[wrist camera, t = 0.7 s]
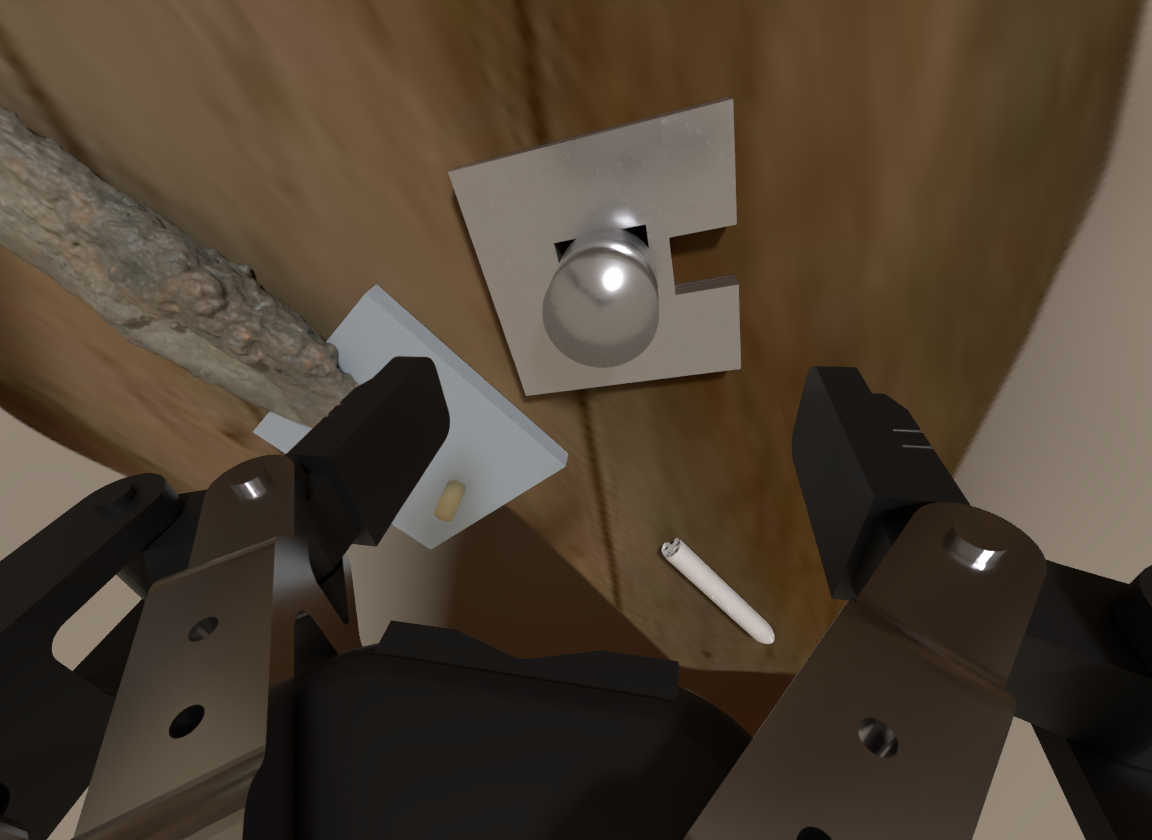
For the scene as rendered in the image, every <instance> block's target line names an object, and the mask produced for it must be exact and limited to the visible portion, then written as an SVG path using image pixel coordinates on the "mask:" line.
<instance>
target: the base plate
mask: <svg viewBox="0 0 1152 840" xmlns="http://www.w3.org/2000/svg"><path fill="white" fill-rule="evenodd" d="M326 343H332V344H334V345H335V346H336V349H337V350H338V355H337V365H339V369H340V370H342V371H344V372H346V373H349V374H351V375H352V377H353V379H354V381H356V382H357V383H358V385H361V384H363V383H365V382H366V381H368V380H370V379H372V378H373V377H374V376H375V375H376V374H377V373H378V372H379V371H380V370H381V369H382V368H383V367H384V366H385V365H386V364H387V363H388V362H389V361H390V360H391V359H393V358H394V357H396V356H411V357H429V358H431V359H432V360H433V362H434V364H435V366H436V369H437V372H438V376H439V379H440V383H441V386H442V390H443V393H444V397H445V400H446V404H447V407H448V410H449V415H450V429H449V433H448V436H447V438H446V440H445V442H444V443H443V445H442V446H441V448H440V449H439V451H438V452H437V454H436V455H435V457H434V459H433V460H432V462H431V463H430V465H429V466H428V468H427V469H426V471H425V472H424V474H423V476H422V477H421V479H420V480H419V482H418V483H417V485H416V486H415V488H414V489H413V491H412V493H411V494H410V496H409V497H408V499H407V500H406V502H405V503H404V505H403V506H402V508H401V509H400V511H399V513H398V514H397V516H396V517H395V519H394V520H393V522H392V523H391V524H393V525H394V526H395V527H397V528H398V529H400V530H402V531H403V532H405V533H406V534H408V535H409V536H411V537H412V538H414V539H415V540H417V541H418V542H420V543H421V544H423V545H424V546H426V547H427V548H429V549H430V550H431V549H433V548H434V547H436V546H438V545H439V544H441V543H442V542H444V541H445V540H447V539H449V538H451V537H452V536H453V535H455V534H457V533H459V532H460V531H462V530H463V529H465V528H467V527H468V526H470V525H472V524H473V523H475V522H477V521H478V520H480V519H481V518H483V517H485V516H486V515H488V514H489V513H491V512H493V511H494V510H496V509H498V508H499V507H501V506H502V505H504V504H506V503H507V502H509V501H511V500H512V499H514V498H515V497H517V496H519V495H520V494H522V493H524V492H525V491H527V490H528V489H530V488H532V487H533V486H535V485H537V484H538V483H540V482H541V481H543V480H545V479H546V478H548V477H550V476H551V475H553V474H554V473H556V472H558V471H559V470H561V469H562V468H564V467H566V462H567V457H568V453H567V452H566V451H565V450H564V449H562V448H561V447H560V446H559V445H558V444H557V443H556V442H555V441H553V440H552V439H551V438H550V437H549V436H548V435H547V434H545V433H544V432H543V431H542V430H541V429H540V428H539V427H538V426H536V425H535V424H534V423H533V422H532V421H531V420H530V419H529V418H527V417H526V416H525V415H524V414H523V413H522V412H521V411H519V410H518V409H517V408H516V407H515V406H514V405H513V404H512V403H510V402H509V401H508V400H507V399H506V398H505V397H504V396H502V395H501V394H500V393H499V392H498V391H497V390H496V389H495V388H493V387H492V386H491V385H490V384H489V383H488V382H487V381H485V380H484V379H483V378H482V377H481V376H480V375H479V374H478V373H476V372H475V371H474V370H473V369H472V368H471V367H470V366H469V365H467V364H466V363H465V362H464V361H463V360H462V359H461V358H459V357H458V356H457V355H456V354H455V353H454V352H453V351H452V350H450V349H449V348H448V347H447V346H446V345H445V344H444V343H442V342H441V341H440V340H439V339H438V338H437V337H436V336H435V335H433V334H432V333H431V332H430V331H429V330H428V329H427V328H425V327H424V326H423V325H422V324H421V323H420V322H419V321H418V320H416V319H415V318H414V317H413V316H412V315H411V314H410V313H408V312H407V311H406V310H405V309H404V308H403V307H402V306H401V305H399V304H398V303H397V302H396V301H395V300H394V299H393V298H392V297H390V296H389V295H388V294H387V293H386V292H385V291H384V290H382V289H381V288H380V287H379V286H378V285H375V286H374V287H373V288H372V289H370V290H369V291H368V292H367V293H365V295H364V296H363V297H362V298H361V300H360V301H359V302H358V303H357V305H356V306H355V307H354V308H353V309H352V311H351V312H350V313H349V314H348V316H347V317H346V318H345V319H344V321H343V322H342V323H341V324H340V325H339V327H338V328H337V329H336V330H335V332H334V333H333V334H332V335H331V337H330V338H329V339H328V340H327V341H326ZM312 429H313V428H312V427H309V426H306V425H302V424H300V423H298V422H296V421H293V420H290V419H287V418H284V417H282V416H280V415H278V414H276V413H274V412H271V411H270V412H269V413H268V414H267V415H266V417H265V418H264V419H263V420H262V422H261V423H260V424H259V425H258V426H257V428H256V429H255V430H254V431H253V432H254V433H255V434H257V435H258V436H260V437H261V438H263V439H264V440H266V441H267V442H269V443H270V444H272V445H273V446H275V447H276V448H278V449H279V450H281V451H282V452H284V453H285V454H287V453H288V452H289V451H290V450H291V449H292V448H293V447H294V446H295V445H296V444H297V443H298V442H299V441H300V440H301V439H302V438H303V437H304V436H305V435H306V434H307V433H308V432H309V431H310V430H312Z"/></svg>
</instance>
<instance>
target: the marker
mask: <svg viewBox="0 0 1152 840" xmlns="http://www.w3.org/2000/svg"><path fill="white" fill-rule="evenodd" d="M662 553H663V556H664V557H665V558H666V559H667V560H668V561H669V562H670V563H671V564H672V565H674V566H675V567H676V568H677V569H678V570H679V571H680V572H681V573H682V574H684V575H685V576H686V577H687V578H688V579H689V580H690V581H691V582H692V583H693V584H695V585H696V586H697V587H698V588H699V589H700V590H701V591H702V592H703V593H704V594H706V595H707V596H708V597H709V598H710V599H711V600H712V601H713V602H714V603H715V604H717V605H718V606H719V607H720V608H721V609H722V610H723V611H724V612H725V613H727V614H728V616H730V617H731V618H732V619H733V620H734V621H735V622H736V623H738V624H739V625H740V626H741V627H742V628H743V629H744V630H745V631H746V632H747V633H749V634H750V635H751V636H752V637H753V638H754V639H755V640H757V641H759V642H761V643H764V644H771V643H773V641H774V633H773V630H772V628H771V627H770V625H769V624H768V623H767V622H766V621H765V620H764V619H763V618H762V617H761V616H760V615H759V614H758V613H757V612H756V611H755V610H754V609H752V608H751V607H750V606H749V605H748V604H747V603H746V602H745V601H744V600H743V599H742V598H741V597H740V596H739V595H738V594H737V593H736V592H735V591H734V590H733V589H732V588H730V587H729V586H728V585H727V584H726V583H725V582H724V581H723V580H722V579H721V578H720V577H719V576H718V575H717V574H716V573H715V572H714V571H713V570H712V569H711V568H709V567H708V566H707V565H706V564H705V563H704V562H703V561H702V560H701V559H700V558H699V557H698V556H697V555H696V554H695V553H694V552H693V551H692V550H691V549H690V548H688V547H687V546H686V545H685V544H684V543H683V542H682V541H681V540H679V539H678V538H677V539H675V540H674V542H673V544H670V543H669V542H667V543H664V544H663V547H662Z"/></svg>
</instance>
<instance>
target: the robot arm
mask: <svg viewBox="0 0 1152 840" xmlns="http://www.w3.org/2000/svg"><path fill="white" fill-rule="evenodd" d="M449 429H450V415H449V410H448V407H447V404H446V400H445V397H444V393H443V390H442V386H441V383H440V379H439V376H438V372H437V369H436V366H435V364H434V362H433V360H432V359H431V358H429V357H411V356H396V357H394V358H393V359H391V360H390V361H389V362H388V363H387V364H386V365H385V366H384V367H383V368H382V369H381V370H380V371H379V372H378V373H377V374H376V375H375V376H374V377H373V378H372V379H370V380H368V381H366V382H365V383H363V384H361V385H359V386H358V387H356V388H354V389H353V390H352V391H351V392H350V393H349V394H348V395H347V396H346V397H345V398H344V399H343V400H342V401H341V402H340V405H336V406H335V407H334V408H333V409H332V410H331V411H330V412H329V413H328V417H324V418H323V419H322V420H321V421H320V422H319V423H318V424H317V425H316V426H315V427H314V428H313V429H312V430H310V431H309V432H308V433H307V434H306V435H305V436H304V437H303V438H302V439H301V440H300V441H299V442H298V443H297V444H296V445H295V446H294V447H293V448H292V449H291V450H290V451H289V452H288V453H287V454H285V455H284V456H283V455H266V456H260V457H257V458H253V459H250V460H247V461H245V462H243V463H240V464H238V465H236V466H234V467H232V468H231V469H229V470H228V471H226V472H225V473H223V474H222V475H221V476H219V477H218V478H217V479H216V480H215V481H214V482H213V483H212V484H211V485H210V486H209V488H208V489H207V490H201V491H195V492H189V493H183V494H177V493H176V492H175V491H174V490H173V488H172V487H171V486H170V485H169V483H168V482H167V481H166V480H165V478H164V477H162V476H161V475H159V474H154V473H145V474H138V475H134V476H130V477H126V478H123V479H120V480H118V481H115V482H113V483H111V484H108V485H106V486H104V487H102V488H100V489H98V490H97V491H95V492H93V493H92V494H90V495H88V496H87V497H86V498H84V499H83V500H81V501H80V502H79V503H77V504H76V505H75V506H73V507H72V508H71V509H69V510H68V511H67V512H65V513H64V514H63V515H61V516H60V517H59V518H57V519H56V520H55V521H53V522H52V523H51V524H50V525H48V526H47V527H46V528H44V529H43V530H41V531H40V532H39V533H37V534H36V535H35V536H33V537H32V538H31V539H29V540H28V541H27V542H25V543H24V544H23V545H21V546H20V547H19V548H18V549H16V550H15V551H13V552H12V553H11V554H9V555H8V556H7V557H5V558H4V559H3V560H1V561H0V840H46V839H47V838H48V837H49V836H50V834H51V833H52V832H53V831H54V829H55V828H56V827H57V825H58V824H59V823H60V822H61V820H62V819H63V818H64V816H65V815H66V814H67V813H68V811H69V810H70V809H71V808H72V806H73V805H74V804H75V803H76V801H77V800H78V799H79V797H80V796H81V795H82V794H83V792H84V791H85V790H86V789H87V787H88V786H89V788H88V792H87V795H86V798H85V801H84V805H83V808H82V811H81V815H80V818H79V821H78V824H77V828H76V831H75V835H74V838H72V839H71V840H972V838H973V835H974V832H975V829H976V826H977V823H978V820H979V817H980V815H981V811H982V809H983V806H984V803H985V800H986V797H987V794H988V791H989V788H990V785H991V782H992V779H993V776H994V773H995V770H996V767H997V765H998V761H999V759H1000V755H1001V753H1002V750H1003V747H1004V744H1005V741H1006V738H1007V735H1008V732H1009V729H1010V726H1011V723H1012V720H1013V717H1014V716H1015V717H1017V718H1020V719H1022V720H1024V721H1027V722H1029V723H1031V725H1032V727H1033V729H1034V731H1035V733H1036V735H1037V737H1038V739H1039V741H1040V744H1041V746H1042V748H1043V750H1044V752H1045V754H1046V756H1047V758H1048V760H1049V763H1050V765H1051V767H1052V769H1053V771H1054V773H1055V776H1056V778H1057V780H1058V782H1059V784H1060V786H1061V788H1062V790H1063V793H1064V795H1065V797H1066V799H1067V801H1068V803H1069V805H1070V807H1071V810H1072V812H1073V814H1074V816H1075V818H1076V820H1077V822H1078V824H1079V827H1080V829H1081V831H1082V833H1083V835H1084V837H1085V839H1086V840H1152V565H1151V566H1149V567H1147V568H1145V569H1144V570H1143V571H1142V572H1141V573H1140V574H1139V575H1138V576H1137V577H1136V578H1135V579H1134V580H1133V581H1132V582H1131V583H1130V584H1127V583H1123V582H1120V581H1116V580H1113V579H1109V578H1106V577H1102V576H1098V575H1096V574H1092V573H1088V572H1085V571H1082V570H1078V569H1075V568H1071V567H1068V566H1064V565H1061V564H1057V563H1055V562H1051V561H1049V560H1046V559H1045V557H1044V555H1043V553H1042V551H1041V550H1040V549H1039V547H1038V545H1037V544H1036V543H1035V542H1034V541H1033V540H1032V539H1031V538H1030V537H1029V536H1028V535H1027V534H1026V533H1024V532H1023V531H1022V530H1021V529H1019V528H1017V527H1016V526H1015V525H1013V524H1012V523H1010V522H1009V521H1007V520H1005V519H1003V518H1001V517H999V516H997V515H995V514H993V513H991V512H988V511H986V510H983V509H980V508H977V507H973V506H971V505H970V504H969V502H968V501H967V499H966V498H965V496H964V495H963V493H962V492H961V490H960V489H959V487H958V486H957V484H956V483H955V481H954V479H953V478H952V476H951V475H950V473H949V472H948V470H947V469H946V467H945V466H944V464H943V463H942V461H941V460H940V458H939V457H938V455H937V454H936V452H935V451H934V449H931V448H930V446H931V445H930V443H929V442H928V440H927V439H926V437H925V436H924V434H923V433H920V428H919V426H918V425H917V423H916V422H915V420H914V419H913V417H912V416H911V414H910V413H909V411H908V410H907V409H905V408H904V407H903V406H901V405H900V404H898V403H897V402H896V401H894V400H893V399H891V398H890V397H889V396H887V395H886V394H874V393H871V391H870V389H869V388H868V386H867V384H866V382H865V381H864V379H863V377H862V376H861V374H860V372H859V371H858V369H857V368H855V367H824V366H813V367H811V368H810V370H809V372H808V374H807V377H806V381H805V385H804V389H803V393H802V397H801V401H800V406H799V410H798V414H797V418H796V422H795V426H794V430H793V436H792V456H793V461H794V465H795V468H796V472H797V476H798V479H799V483H800V486H801V490H802V493H803V497H804V501H805V504H806V508H807V511H808V515H809V518H810V522H811V526H812V529H813V533H814V536H815V540H816V543H817V547H818V551H819V554H820V558H821V561H822V565H823V568H824V572H825V576H826V579H827V583H828V586H829V590H830V593H831V597H832V599H841V600H849V601H848V602H847V604H846V605H845V606H844V607H843V609H842V610H841V612H840V613H839V615H838V616H837V617H836V619H835V620H834V622H833V623H832V625H831V626H830V628H829V629H828V630H827V632H826V633H825V635H824V636H823V638H822V639H821V641H820V642H819V644H818V645H817V646H816V648H815V649H814V651H813V652H812V654H811V655H810V657H809V658H808V659H807V661H806V662H805V664H804V665H803V667H802V668H801V670H800V671H799V672H798V674H797V675H796V677H795V678H794V680H793V681H792V683H791V684H790V686H789V687H788V688H787V690H786V691H785V693H784V694H783V696H782V697H781V699H780V700H779V702H778V703H777V704H776V706H775V707H774V709H773V710H772V711H771V713H770V714H769V716H768V717H767V719H766V720H765V722H764V723H763V725H762V726H761V727H760V729H759V730H758V732H757V733H756V735H755V736H754V738H752V736H751V735H750V734H749V733H748V732H747V731H746V730H745V729H744V728H743V727H741V726H740V725H739V724H738V723H737V722H736V721H735V720H734V719H733V718H732V717H730V716H729V715H728V714H727V713H725V712H724V711H723V710H721V709H720V708H719V707H717V706H716V705H714V704H713V703H711V702H710V701H708V700H706V699H705V698H703V697H701V696H699V695H698V694H696V693H694V692H692V691H690V690H688V689H686V688H683V687H681V686H679V685H678V661H671V660H664V659H657V658H650V657H642V656H636V655H629V654H622V653H614V652H607V651H593V652H584V653H576V654H567V655H558V656H550V657H541V658H533V659H518V658H516V657H513V656H511V655H508V654H506V653H504V652H502V651H500V650H498V649H496V648H494V647H491V646H489V645H487V644H485V643H483V642H480V641H479V640H476V639H474V638H472V637H470V636H468V635H466V634H463V633H461V632H459V631H457V630H454V629H447V628H440V627H433V626H426V625H419V624H411V623H405V622H398V621H391V622H390V624H389V625H388V627H387V629H386V631H385V633H384V635H383V637H382V639H381V640H380V643H378V644H372V645H369V646H364V647H362V644H361V641H360V636H359V629H358V621H357V612H356V604H355V596H354V588H353V581H352V571H351V564H350V561H349V559H348V557H347V555H346V551H347V550H348V548H349V547H350V545H351V544H359V545H368V546H377V545H378V543H379V542H380V540H381V539H382V537H383V536H384V534H385V533H386V531H387V530H388V528H389V526H390V525H391V523H392V522H393V520H394V519H395V517H396V516H397V514H398V513H399V511H400V509H401V508H402V506H403V505H404V503H405V502H406V500H407V499H408V497H409V496H410V494H411V493H412V491H413V489H414V488H415V486H416V485H417V483H418V482H419V480H420V479H421V477H422V476H423V474H424V472H425V471H426V469H427V468H428V466H429V465H430V463H431V462H432V460H433V459H434V457H435V455H436V454H437V452H438V451H439V449H440V448H441V446H442V445H443V443H444V442H445V440H446V438H447V436H448V433H449ZM115 575H117V576H118V577H120V578H121V579H122V580H123V581H124V582H125V583H126V584H127V585H128V586H129V587H130V588H131V589H132V590H133V591H134V592H135V593H136V594H138V595H139V596H140V597H141V598H142V600H141V601H140V602H139V603H138V604H137V605H136V606H135V607H134V608H133V609H132V610H131V611H130V612H129V613H128V614H127V615H126V616H125V617H124V618H123V619H122V620H121V621H120V623H118V625H117V626H116V627H115V628H114V629H113V630H112V631H111V632H110V633H109V634H108V635H107V636H106V637H105V638H104V639H103V640H102V641H101V642H100V643H99V644H98V645H97V646H96V647H95V648H94V649H93V650H92V652H90V654H89V655H88V656H87V657H86V658H85V659H84V660H83V661H82V662H81V663H80V664H79V665H78V666H77V667H76V668H75V669H74V670H73V671H71V670H70V669H68V668H67V667H66V666H64V665H63V664H61V663H60V662H58V661H57V660H56V659H55V658H54V656H53V654H52V642H53V639H54V636H55V635H56V633H57V631H58V630H59V628H60V627H61V626H62V625H63V624H64V623H65V622H66V621H67V620H68V619H69V618H70V617H71V616H72V615H73V614H74V613H75V612H76V611H78V609H80V608H81V607H82V606H83V605H84V604H85V603H86V602H87V601H88V600H89V599H90V598H91V597H92V596H94V595H95V593H97V592H98V591H99V590H100V589H101V588H102V587H103V586H104V585H105V584H106V583H107V582H108V581H109V580H111V579H112V578H113V577H114V576H115Z"/></svg>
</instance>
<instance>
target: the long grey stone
mask: <svg viewBox="0 0 1152 840" xmlns="http://www.w3.org/2000/svg"><path fill="white" fill-rule="evenodd" d="M0 245H1V246H3V247H5V248H6V249H7V250H9V251H11V252H12V253H13V254H15V255H16V256H17V257H19V258H20V259H22V260H23V261H25V262H26V263H28V264H29V265H31V266H33V267H34V268H37V269H38V270H39V271H41V272H42V273H43V274H45V275H47V276H49V277H50V278H52V279H53V280H54V281H56V282H57V283H58V284H59V285H60V286H61V287H62V288H63V289H64V290H66V291H67V292H69V293H71V294H73V295H75V296H77V297H79V298H80V299H82V300H83V301H84V302H85V303H87V304H89V305H90V306H91V307H93V308H94V309H95V310H96V312H97V313H99V314H100V315H101V316H102V318H103V319H104V321H106V322H108V324H109V325H110V326H112V327H114V328H115V329H116V330H117V331H119V332H120V333H121V335H122V337H123V338H124V339H126V340H127V341H128V342H130V343H132V344H134V345H136V346H137V347H141V348H143V349H145V350H147V351H149V352H151V353H153V354H155V355H159V356H160V357H162V358H164V359H167V360H170V361H173V362H174V363H176V364H177V365H179V366H181V367H183V368H185V369H188V370H189V371H190V372H191V373H192V376H193V377H200V378H201V379H202V381H204V382H207V383H210V384H215V385H218V386H219V387H223V388H225V389H226V390H227V391H229V392H231V393H234V394H235V395H236V396H238V397H241V398H242V399H243V400H245V401H247V402H249V403H250V404H253V405H255V406H260V407H263V408H265V409H267V410H269V411H271V412H274V413H276V414H278V415H280V416H282V417H284V418H287V419H290V420H293V421H296V422H298V423H300V424H302V425H306V426H309V427H312V428H314V427H315V426H316V425H317V424H318V423H319V422H320V421H321V420H322V419H323V418H324V417H328V413H329V412H330V411H331V410H332V409H333V408H334V407H335V406H336V405H340V402H341V401H342V400H343V399H344V398H345V397H346V396H347V395H348V394H349V393H350V392H351V391H352V390H353V389H354V388H356V387H358V386H359V385H358V383H357V382H356V381H354V379H353V377H352V375H351V374H349V373H346V372H344V371H342V370H340V369H339V365H337V355H338V350H337V349H336V346H335V345H334V344H332V343H326V342H325V341H324V340H323V339H322V338H321V336H320V335H319V334H318V333H317V332H316V331H315V330H314V329H313V328H312V327H311V326H310V325H308V324H307V323H306V322H305V321H304V320H303V319H302V317H301V316H300V315H299V314H298V313H296V312H295V311H292V310H291V309H290V308H288V307H287V306H286V305H284V304H282V303H281V302H280V301H278V300H277V299H276V298H275V297H274V296H271V295H269V294H268V293H267V292H265V291H264V290H263V289H261V288H260V286H259V284H258V283H257V281H256V280H255V279H254V278H253V277H252V273H251V271H250V268H249V266H248V265H239V264H236V263H232V262H229V261H228V260H227V259H225V258H224V257H223V256H222V255H221V254H220V253H219V252H218V250H217V249H213V248H207V247H205V246H202V245H200V244H199V243H198V242H196V241H195V240H194V239H193V238H191V237H190V236H188V235H187V234H185V233H184V232H183V231H182V230H181V229H179V228H178V227H176V226H175V225H174V224H172V223H171V222H169V221H168V220H166V219H165V218H164V217H162V216H161V215H159V214H158V213H157V212H156V211H154V210H153V209H152V208H149V207H147V206H146V205H145V204H144V203H141V202H138V201H136V200H135V199H133V198H131V197H129V196H128V195H127V194H125V193H124V192H120V191H118V190H117V189H116V188H115V187H113V186H111V185H109V184H107V183H106V182H104V181H103V180H101V179H100V178H99V177H98V176H96V175H95V174H94V173H93V172H92V171H91V170H90V169H89V168H88V167H87V166H85V165H84V164H83V163H81V162H80V161H78V160H77V158H76V157H75V156H73V155H72V154H70V153H68V152H66V151H65V150H63V148H62V147H61V145H60V144H59V143H58V142H57V141H55V140H54V139H52V138H43V137H41V136H39V135H37V134H36V133H34V132H33V131H32V130H31V129H29V128H28V127H26V126H25V125H24V124H23V122H22V121H21V120H20V119H19V118H18V115H17V114H16V113H14V112H12V111H10V110H8V109H6V108H5V107H3V106H1V105H0Z"/></svg>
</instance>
